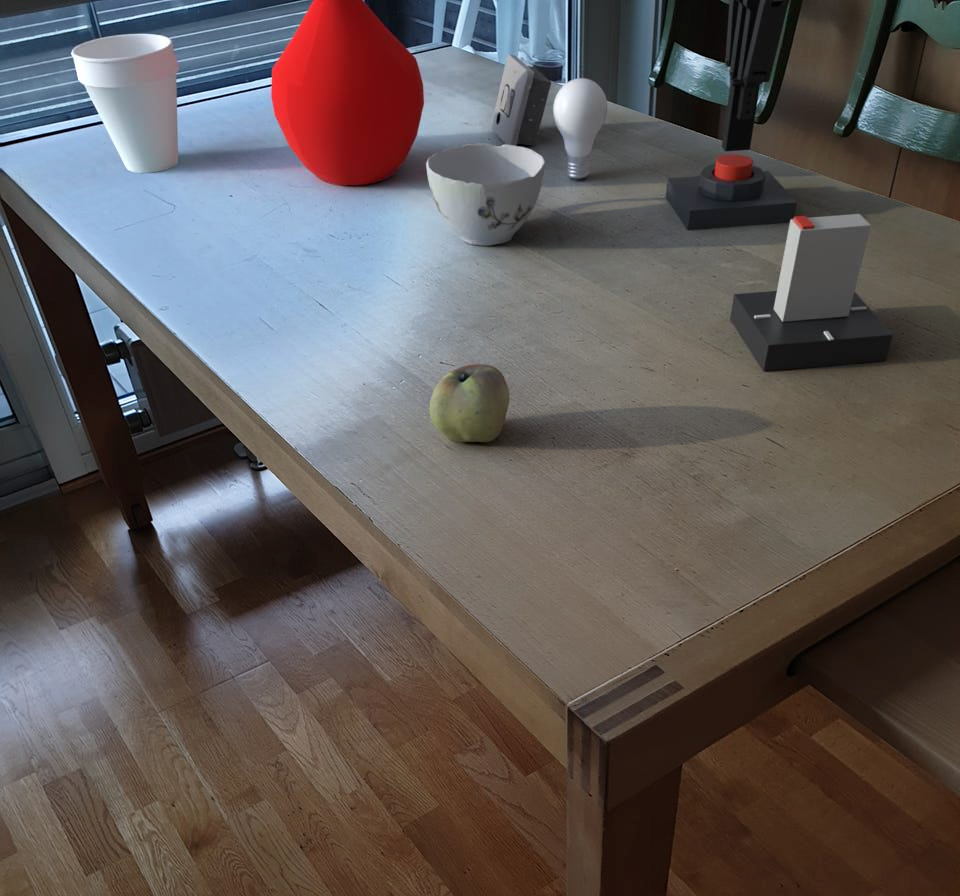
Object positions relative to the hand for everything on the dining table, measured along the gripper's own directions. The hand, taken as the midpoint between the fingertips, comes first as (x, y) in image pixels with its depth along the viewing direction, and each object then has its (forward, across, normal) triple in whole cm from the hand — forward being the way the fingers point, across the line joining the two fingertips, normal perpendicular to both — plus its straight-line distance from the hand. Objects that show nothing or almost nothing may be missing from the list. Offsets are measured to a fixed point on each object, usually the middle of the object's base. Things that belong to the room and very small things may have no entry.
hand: (735, 148), depth 105 cm
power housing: (+7, 0, 0) cm, 7 cm away
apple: (+7, -42, +33) cm, 54 cm away
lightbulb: (+7, +13, +15) cm, 21 cm away
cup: (+7, +30, +69) cm, 75 cm away
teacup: (+7, -1, +28) cm, 29 cm away
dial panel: (+7, -31, +2) cm, 32 cm away
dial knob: (+4, -31, +2) cm, 31 cm away
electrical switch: (+7, +30, +20) cm, 37 cm away
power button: (+3, 0, 0) cm, 3 cm away
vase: (+7, +21, +42) cm, 47 cm away
